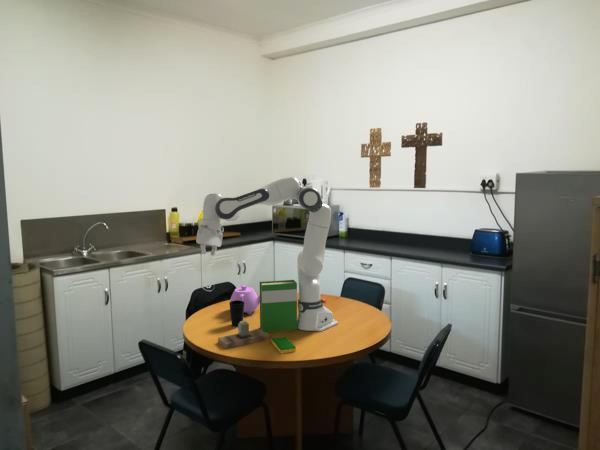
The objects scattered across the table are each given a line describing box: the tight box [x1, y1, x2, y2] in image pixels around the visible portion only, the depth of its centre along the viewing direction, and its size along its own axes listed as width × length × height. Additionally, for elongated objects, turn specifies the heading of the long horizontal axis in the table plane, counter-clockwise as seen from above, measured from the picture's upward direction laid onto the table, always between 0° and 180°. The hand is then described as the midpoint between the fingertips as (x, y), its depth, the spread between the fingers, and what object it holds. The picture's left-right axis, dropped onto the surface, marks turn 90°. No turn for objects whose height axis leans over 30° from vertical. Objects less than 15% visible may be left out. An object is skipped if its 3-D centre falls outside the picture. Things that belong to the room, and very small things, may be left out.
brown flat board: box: [217, 328, 270, 350], centre depth 217 cm, size 22×9×2 cm, turn 123°
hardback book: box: [259, 279, 298, 333], centre depth 232 cm, size 18×7×24 cm, turn 103°
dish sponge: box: [271, 336, 297, 354], centre depth 210 cm, size 7×14×2 cm, turn 21°
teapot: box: [229, 284, 260, 315], centre depth 258 cm, size 20×20×15 cm
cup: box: [229, 300, 245, 328], centre depth 238 cm, size 8×8×12 cm
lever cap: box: [237, 319, 250, 339], centre depth 217 cm, size 4×3×8 cm
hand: (208, 254), depth 224 cm, fingers open, 8 cm apart
